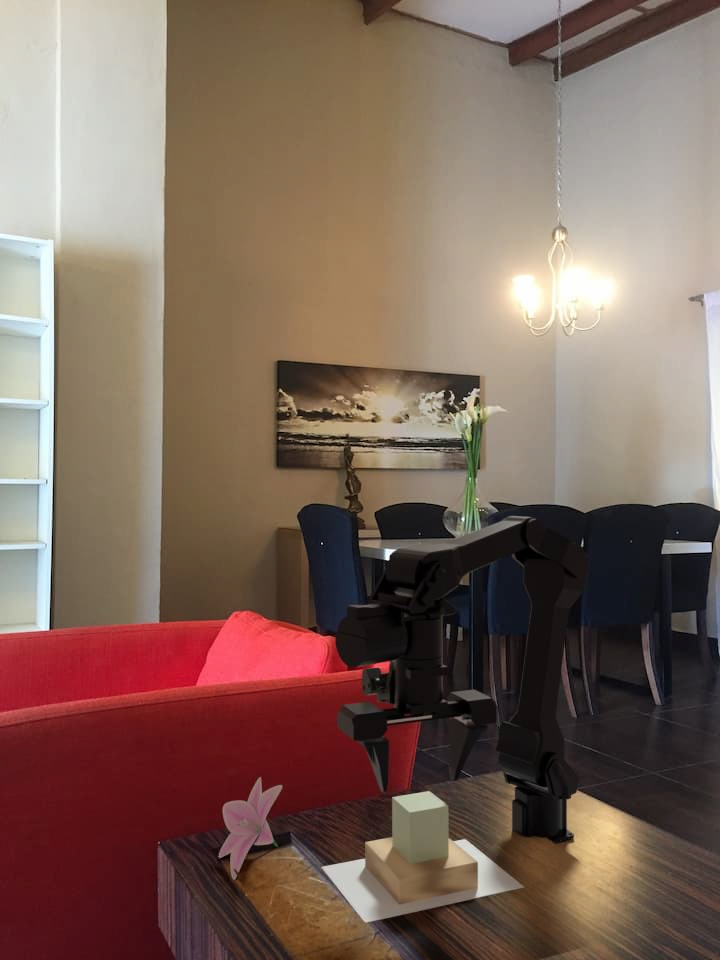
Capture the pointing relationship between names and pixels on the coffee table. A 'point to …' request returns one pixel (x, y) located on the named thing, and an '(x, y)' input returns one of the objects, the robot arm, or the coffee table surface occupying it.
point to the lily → (248, 824)
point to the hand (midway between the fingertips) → (418, 785)
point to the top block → (420, 827)
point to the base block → (420, 872)
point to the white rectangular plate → (380, 904)
